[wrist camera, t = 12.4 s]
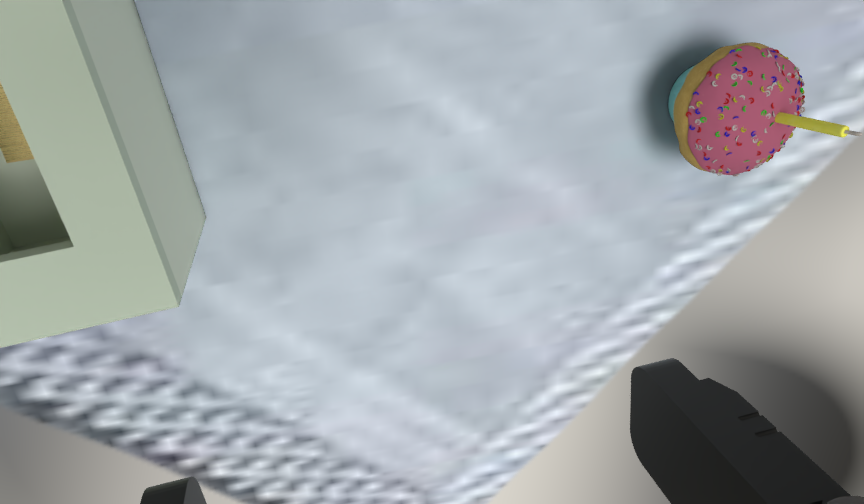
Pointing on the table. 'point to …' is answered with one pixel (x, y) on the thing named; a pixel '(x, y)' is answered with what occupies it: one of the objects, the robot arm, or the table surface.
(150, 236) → the box
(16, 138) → the tan brushed block
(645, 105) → the table surface
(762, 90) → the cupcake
